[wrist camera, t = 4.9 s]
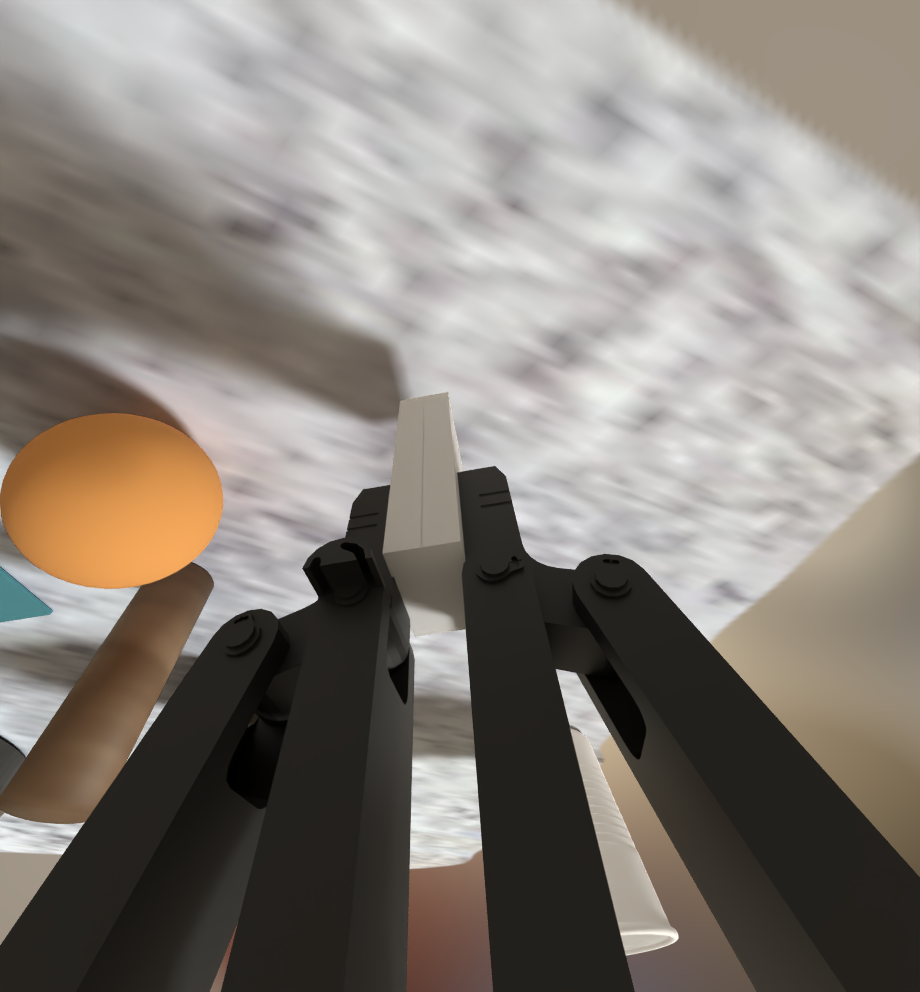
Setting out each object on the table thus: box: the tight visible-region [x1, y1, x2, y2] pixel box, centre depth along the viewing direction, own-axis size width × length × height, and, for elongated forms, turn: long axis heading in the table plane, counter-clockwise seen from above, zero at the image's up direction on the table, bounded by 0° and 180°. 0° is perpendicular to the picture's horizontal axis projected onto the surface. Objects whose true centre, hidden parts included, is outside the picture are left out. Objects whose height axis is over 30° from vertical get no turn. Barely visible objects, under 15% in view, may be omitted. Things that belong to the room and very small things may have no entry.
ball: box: [0, 413, 223, 589], centre depth 14 cm, size 6×6×6 cm
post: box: [0, 562, 214, 824], centre depth 17 cm, size 3×3×9 cm
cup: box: [570, 728, 678, 955], centre depth 29 cm, size 10×10×11 cm
